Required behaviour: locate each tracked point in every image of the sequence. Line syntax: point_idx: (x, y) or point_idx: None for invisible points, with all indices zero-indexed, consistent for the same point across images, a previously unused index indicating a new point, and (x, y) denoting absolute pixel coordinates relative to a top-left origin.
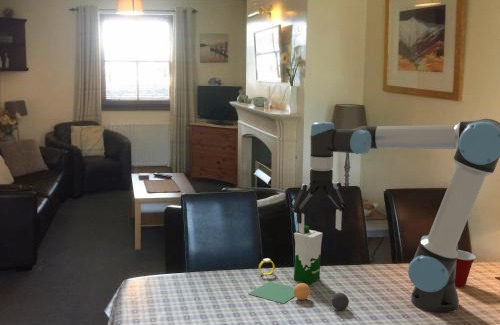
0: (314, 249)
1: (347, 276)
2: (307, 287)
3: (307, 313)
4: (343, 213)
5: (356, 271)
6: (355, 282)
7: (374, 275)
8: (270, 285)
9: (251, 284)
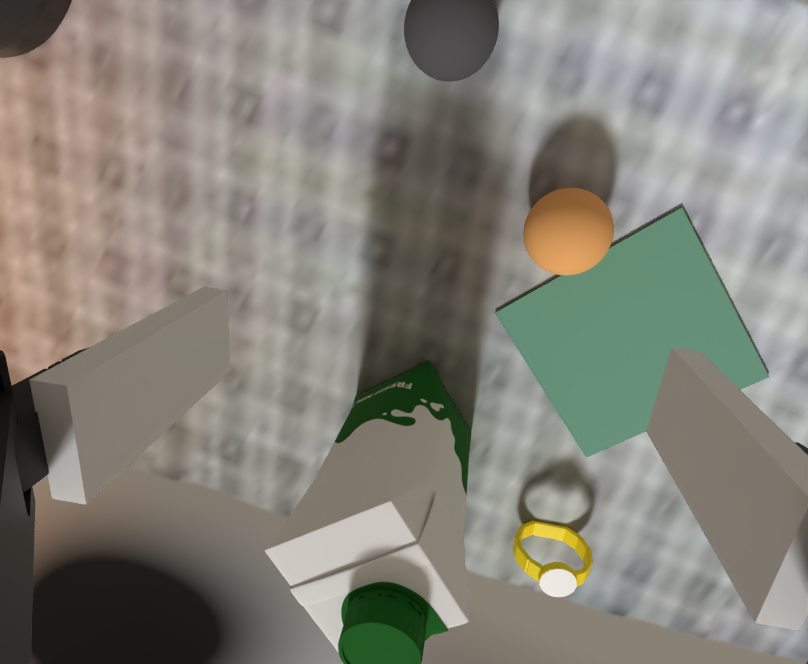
0: (379, 451)
1: None
2: (554, 209)
3: (639, 51)
4: (25, 382)
5: None
6: None
7: None
8: (610, 416)
9: None
